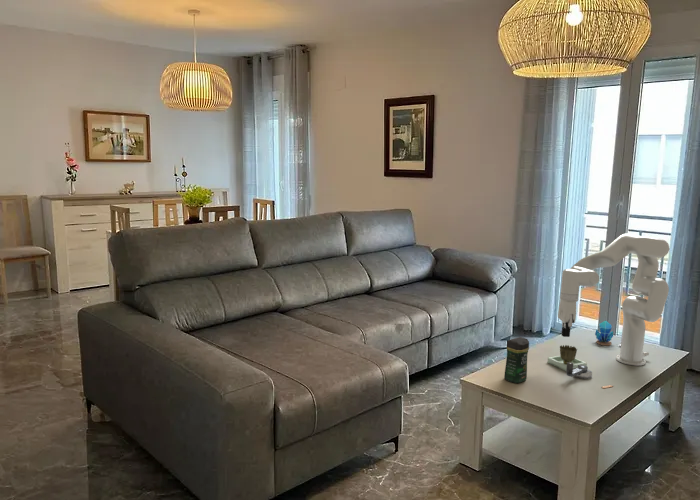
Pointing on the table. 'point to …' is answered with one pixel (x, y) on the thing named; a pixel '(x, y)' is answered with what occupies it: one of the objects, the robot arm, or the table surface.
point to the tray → (559, 363)
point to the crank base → (584, 374)
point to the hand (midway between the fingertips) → (565, 336)
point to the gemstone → (604, 334)
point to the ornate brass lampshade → (567, 353)
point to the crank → (574, 372)
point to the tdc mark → (607, 386)
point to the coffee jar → (516, 360)
